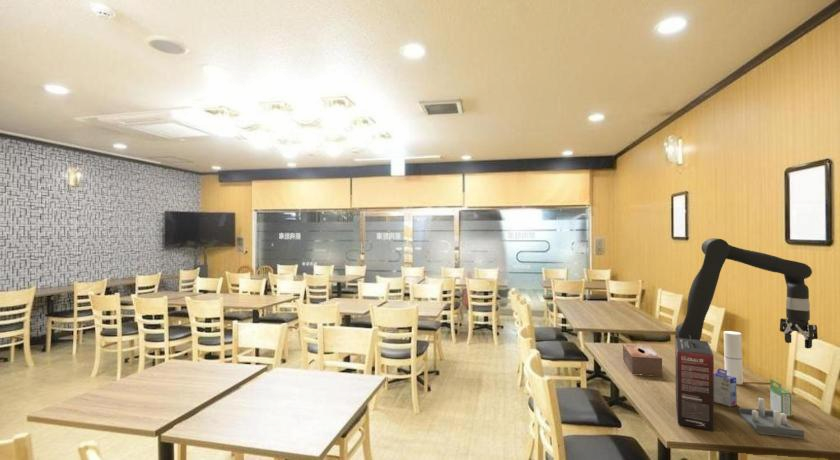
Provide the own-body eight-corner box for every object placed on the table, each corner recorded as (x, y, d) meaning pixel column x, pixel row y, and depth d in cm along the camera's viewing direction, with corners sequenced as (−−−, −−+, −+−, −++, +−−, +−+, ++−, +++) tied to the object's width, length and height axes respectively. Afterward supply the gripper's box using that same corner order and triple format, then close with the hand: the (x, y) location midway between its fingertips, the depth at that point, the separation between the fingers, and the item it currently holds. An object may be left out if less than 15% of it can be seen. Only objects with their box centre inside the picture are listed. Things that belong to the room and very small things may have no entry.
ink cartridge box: (737, 405, 178) (736, 372, 178) (731, 407, 176) (730, 374, 176) (713, 397, 187) (712, 365, 187) (706, 399, 184) (705, 367, 185)
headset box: (675, 402, 181) (673, 329, 182) (710, 408, 175) (707, 332, 175) (677, 425, 160) (675, 342, 161) (717, 432, 154) (714, 346, 154)
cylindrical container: (727, 383, 204) (726, 333, 204) (723, 378, 210) (721, 330, 211) (745, 385, 201) (743, 334, 201) (739, 380, 207) (738, 331, 208)
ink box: (792, 417, 165) (791, 384, 166) (781, 416, 166) (780, 383, 166) (781, 410, 172) (779, 378, 173) (770, 409, 173) (769, 378, 173)
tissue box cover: (662, 377, 215) (662, 358, 215) (632, 374, 219) (632, 356, 219) (649, 362, 239) (649, 345, 239) (623, 360, 243) (622, 344, 244)
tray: (757, 433, 153) (757, 411, 153) (739, 414, 169) (738, 394, 169) (804, 438, 148) (803, 416, 148) (780, 418, 164) (779, 398, 164)
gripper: (774, 305, 183) (774, 341, 182) (806, 311, 168) (806, 350, 168) (789, 305, 183) (790, 340, 183) (823, 311, 169) (823, 350, 169)
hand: (798, 345), depth 176 cm, fingers open, 8 cm apart
